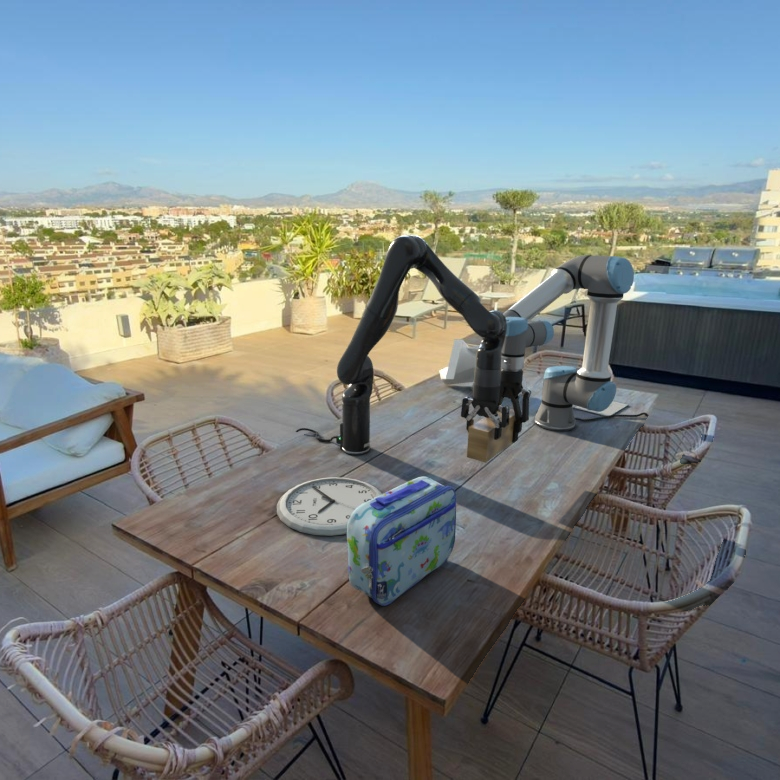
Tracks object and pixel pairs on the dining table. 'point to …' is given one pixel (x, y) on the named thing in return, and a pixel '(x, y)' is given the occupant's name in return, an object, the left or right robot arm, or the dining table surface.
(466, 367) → the white plastic object
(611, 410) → the invitation card
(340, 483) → the wall clock
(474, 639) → the dining table surface
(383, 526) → the lunch box
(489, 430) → the box
